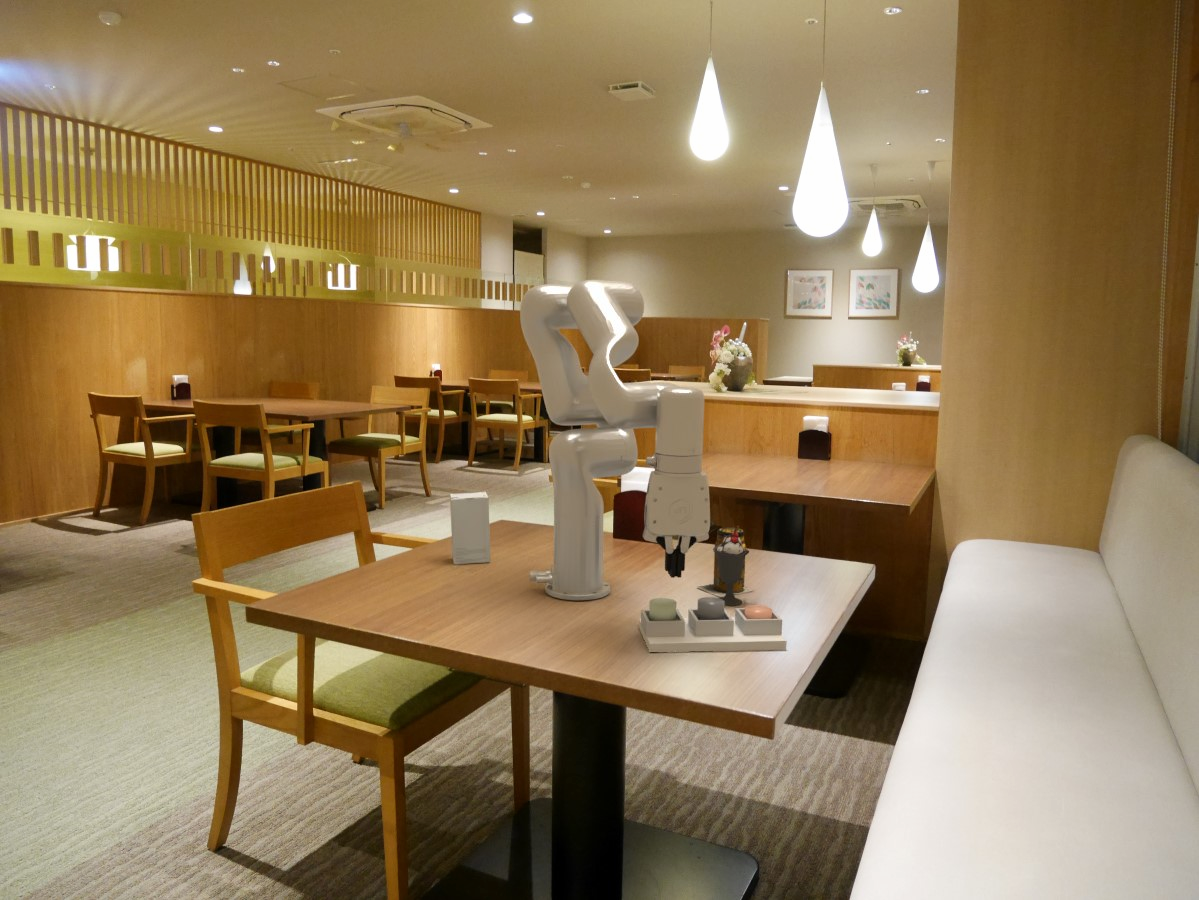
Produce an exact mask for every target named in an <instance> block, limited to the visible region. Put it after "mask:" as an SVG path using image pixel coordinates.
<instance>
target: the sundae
mask: <svg viewBox="0 0 1199 900" xmlns="http://www.w3.org/2000/svg"><path fill="white" fill-rule="evenodd" d="M735 528H736V529H735V531H736V530H737V529H740V526H739V525H737V526H736V527H735ZM735 531H734V533H732V535H728V536H727V535H725V536H724V539H723V542H722V544H721V545H720V546H716V547H715V546H714V547H713V548H712V551H713V553H716V554H717V559H718V569H719V575H720V578H721V579H722V581H724V582H725V583H726V585H727V592H726V595H725V596H724V597H718V598H719V599H722V600H724V601H725V606H726V607H738V606H741V605H742V604H743V600H742V599H741V598H738V597H736V596H735V594H733V585H734V584H735V583H736V582H738V581H739V579H740V578H741V575H742V571H743V564H744V559H745V560H746V556H747V555H748V554H749V553H750V550H748V549H747V547H746V548H744V547H743V545H742V543H741V540H740V538H739V537H738V533H736V532H735Z"/></svg>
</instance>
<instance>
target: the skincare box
mask: <svg viewBox="0 0 1199 900" xmlns="http://www.w3.org/2000/svg"><path fill="white" fill-rule="evenodd" d="M489 501H490V498H489V494H487V491H478V492H464V493H450V494H449V502H450V503H449V505H450V506H449V507H450V509H449V510H450V528H451V529H450V530H451V550H452V560H453V565H454V566H455V565H465V564H467V565H468V564H479V563H480V564H481V563H490V562H491V561H492V560H491V543H490V542H491V540H490V539H491V534H490V533H491V532H490V531H491V530H490V506H489V505H490V504H489V503H490V502H489Z"/></svg>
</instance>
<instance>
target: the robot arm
mask: <svg viewBox="0 0 1199 900" xmlns="http://www.w3.org/2000/svg"><path fill="white" fill-rule="evenodd" d="M519 309H520V310H519V312H520V313H519V315H520V318H519V319H520V326H521V330H522V335H523V337H524V340H525V342H526V345H527V347H528V348H529V351H530V353H531V355H532V358H533V359H534V364H535V367H536V371H537V376H538V380H539V384H540V388H541V393H542V397H543V401H544V405H545V408H546V409H545V411H546V413H547V414H548V417H549V420H550V421H551V422H552V423H554V424H555V425H558V426H587V425H590V426H591V425H596V428H595V427H591V428H590V427H589V428H588V427H587V428H573V429H567V430H564V431H562V432H559V433H558V434H556V435H555V436H554V437H553V438H552V439H551V442H550V444H549V448H548V458H549V459H548V460H549V465H550V470H551V475H552V483H553V485H552V486H553V564H551V568H550V569H549V568H547V569H546V570H543V571H542V570H541V571H540V570H530V571H529V572H530V573H529V581H530V582H535V581H536V584H543V583H546V585H545V593H546V594H547V595H548V596H551V597H553V598H556V599H561V600H565V601H566V600H567V601H591V600H597V599H602V598H605V597H606V596H608V595H609V594H610V593H611V592H612V590H611V584H610V583H609V582H608V581H605V580H604V577H603V576H604V575H603V574H604V573H603V571H604V563H603V562H604V509H605V508H604V506H605V505H604V500H603V496H602V494H601V492H600V491H599V489H598V488H597V486H596V484H595V482H594V479H598V478H606V477H607V478H608V477H619V476H624V475H627V474H629V473H631V472H632V471H633V470H634V469H635V467H636V465H637V462H638V456H639V455H638V454H639V453H638V452H639V450H638V444H637V439H636V434H635V431H634V429H635V430H636V429H655V450H654V454H653V455H651V456H646V458H645V465H646V466H651V467H653V469H654V470H652V471H650V474H649V479H648V483H647V488H646V496H645V503H644V516H643V517H644V519H643V520H644V521H643V522H644V530H643V532H642V538H643V540H645V541H647V542H651V543H656V544H658V545H659V546H660V547H661V548H662V549H663V550H664V553H665V554H664V571H665V572H667V574H668V575H669V576H670V578H672V579H673V578H675V577H677V578H682V572H684V571H685V568H686V554H687V553H688V551H689V550H690V548H692V546H694V545H695V544H696V543H700V542H703V541H707V540H708V539H709V538H710V535H709V531H710V527H711V507H710V506H711V504H710V487H709V480H708V474H707V473H706V472H705V471H704V472H703V471H702V470H703V451H704V450H703V445H704V444H703V443H704V421H705V394H704V392H703V391H702V390H701V389H699V388H698V387H692V386H691V387H690V386H681V385H680V386H679V385H678V384H675V383H671V382H665V381H664V382H662V381H661V382H647V381H646V382H645V381H644V382H623V381H622V380H621V378H619V376H618V374H617V373H616V370H614V368H617V366H620V365H621V364H623V363H624V362H626V361H628V360H629V359H630V358H631V357H632V356H633V355H634V354H635V352H636V350H637V348H638V346H639V341H640V338H639V335H638V332H637V331H636V328H635V327H634V326H636V325H637V324H638V323H639V322H641V320H642V318H643V316H644V312H645V301H644V297H643V294H642V293H641V291H640V289H639V288H638V287H637V286H636V285H635V284H634V283H631V282H628V281H625V280H624V281H621V280H607V279H606V280H605V279H603V280H602V279H586V280H585V279H584V280H582V281H579V282H578V283H575V284H566V283H565V284H563V283H562V284H561V283H545V284H539V285H536V286H533V287H530V288H529V289H528V290H527V291H526V292H525V294H524V295H523V297H522V299H521V302H520V308H519ZM560 329H561V330H562V329H565V330H566V329H568V330H573V329H574V330H578V331H579V332H580V333H581V336H583V339H584V341H585V342H586V344H587V345H588V347H589V349H590V351H591V353H592V354H593V355H592V358H591V360H590V364H589V367H588V375H586V374H585V373H584V372H583V368H582V367H581V362H580V357H579V354H578V352H577V350H576V349H575V347H574V345H573V344H572V343H571V342H570V340H568V338H567V337H566V336H564V335H563V333H561V331H560ZM673 537H678V539H677V545H676V546H675V548H674V543H673Z"/></svg>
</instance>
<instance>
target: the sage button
mask: <svg viewBox="0 0 1199 900" xmlns="http://www.w3.org/2000/svg"><path fill="white" fill-rule="evenodd" d="M648 604H649V605H648V607H649V608H648V610H649V620H650V621H676V609H677V601H676V600H675V599H672V598H669V597H668V598H667V597H655V598H652V599H650V600H649V603H648Z"/></svg>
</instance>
